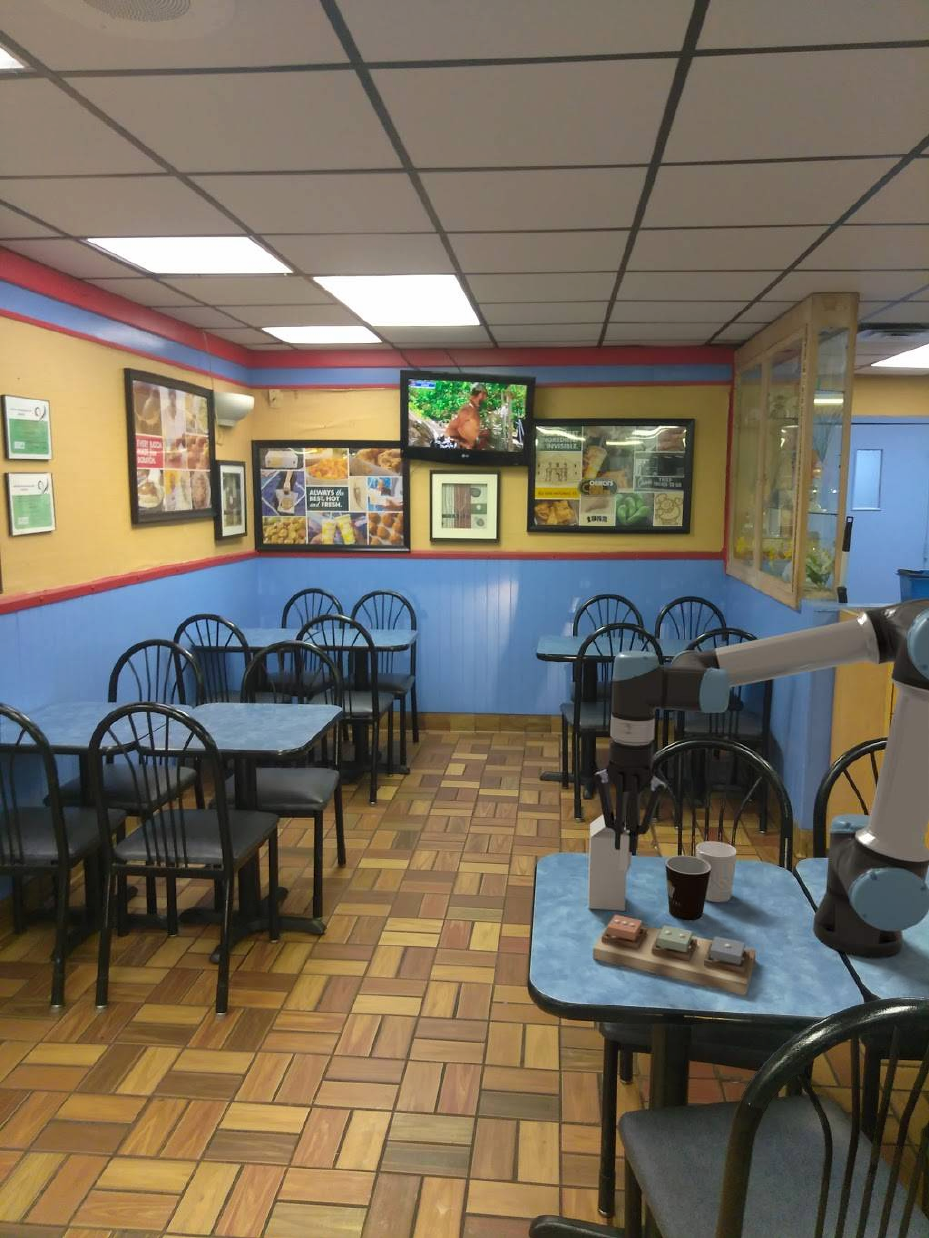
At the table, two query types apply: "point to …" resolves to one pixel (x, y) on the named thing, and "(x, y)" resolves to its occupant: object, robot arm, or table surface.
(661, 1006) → the table surface
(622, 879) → the milk carton
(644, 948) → the keypad board
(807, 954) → the table surface
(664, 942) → the key two dots
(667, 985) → the table surface
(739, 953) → the key one dot
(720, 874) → the white cup
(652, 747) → the robot arm
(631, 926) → the key three dots
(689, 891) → the coffee mug
